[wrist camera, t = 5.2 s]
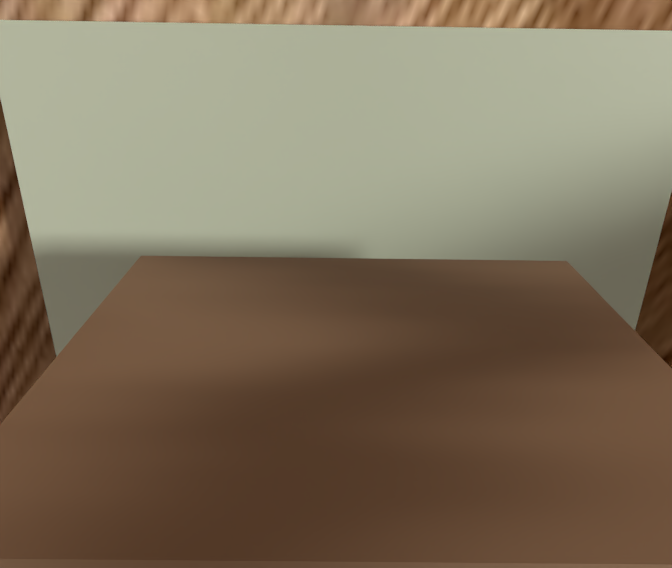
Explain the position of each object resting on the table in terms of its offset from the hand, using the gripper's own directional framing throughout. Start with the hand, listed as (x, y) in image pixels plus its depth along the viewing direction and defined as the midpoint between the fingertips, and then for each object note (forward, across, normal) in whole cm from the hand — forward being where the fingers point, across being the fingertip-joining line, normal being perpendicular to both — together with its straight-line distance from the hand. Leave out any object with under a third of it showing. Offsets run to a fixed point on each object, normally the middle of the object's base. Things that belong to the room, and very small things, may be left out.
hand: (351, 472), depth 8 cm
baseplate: (+5, 0, 0) cm, 5 cm away
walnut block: (+1, 0, 0) cm, 1 cm away
